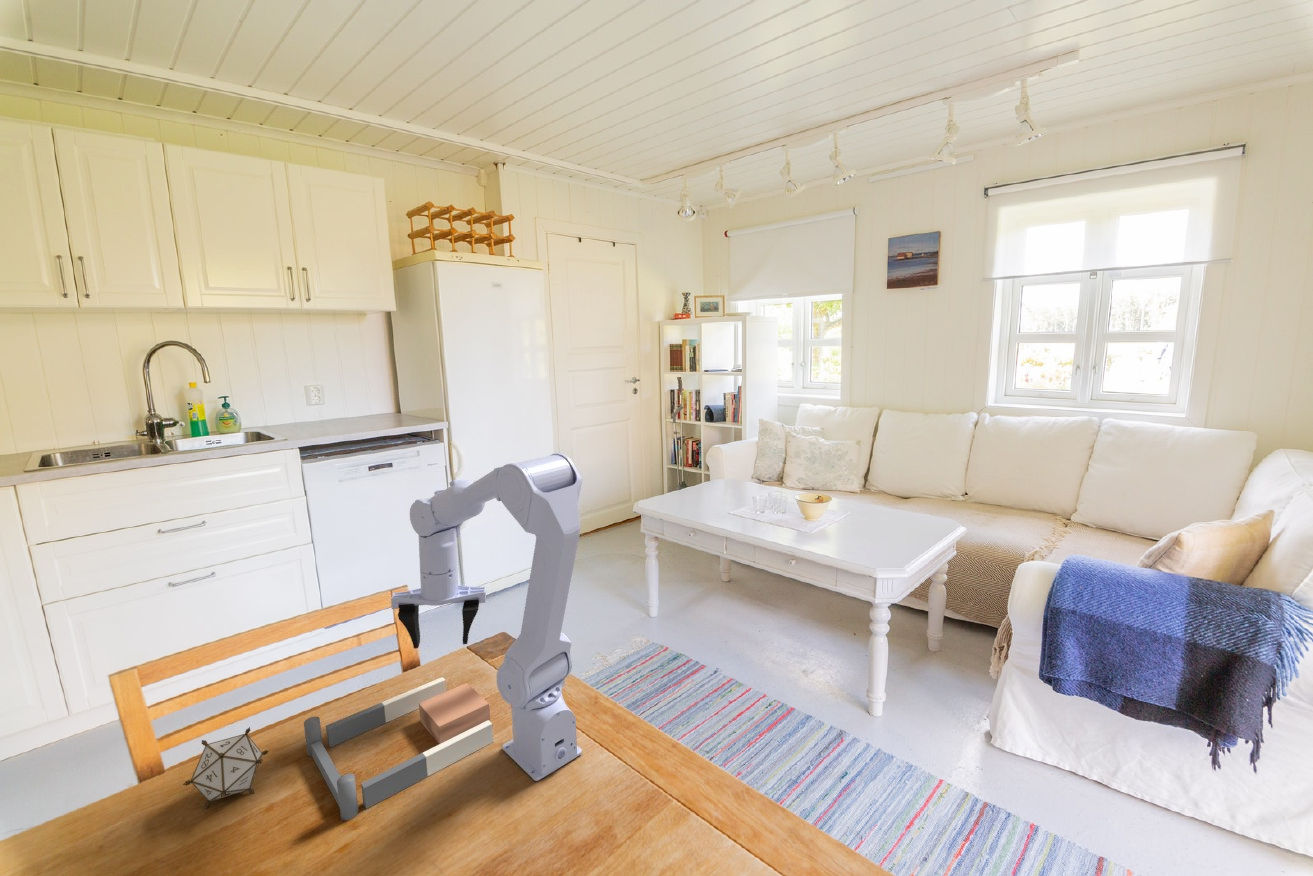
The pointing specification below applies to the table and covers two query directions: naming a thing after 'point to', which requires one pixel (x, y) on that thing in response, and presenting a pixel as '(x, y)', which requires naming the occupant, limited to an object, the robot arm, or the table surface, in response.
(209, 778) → the game die
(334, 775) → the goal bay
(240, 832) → the table surface
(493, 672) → the table surface
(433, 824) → the table surface
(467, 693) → the sliding block
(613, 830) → the table surface
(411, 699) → the lane walls
